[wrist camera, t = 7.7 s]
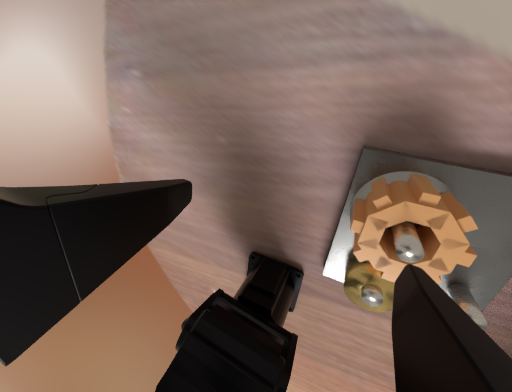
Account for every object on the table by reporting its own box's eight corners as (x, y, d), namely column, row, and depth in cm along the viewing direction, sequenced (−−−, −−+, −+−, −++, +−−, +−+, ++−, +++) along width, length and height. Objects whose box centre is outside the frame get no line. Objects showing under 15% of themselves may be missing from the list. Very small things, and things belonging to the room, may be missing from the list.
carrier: (460, 321, 20) (492, 398, 15) (323, 269, 23) (311, 316, 18) (572, 185, 14) (690, 236, 9) (363, 146, 18) (363, 165, 13)
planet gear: (430, 264, 18) (446, 303, 14) (342, 236, 20) (338, 264, 17) (478, 187, 15) (510, 213, 11) (367, 163, 17) (368, 180, 14)
